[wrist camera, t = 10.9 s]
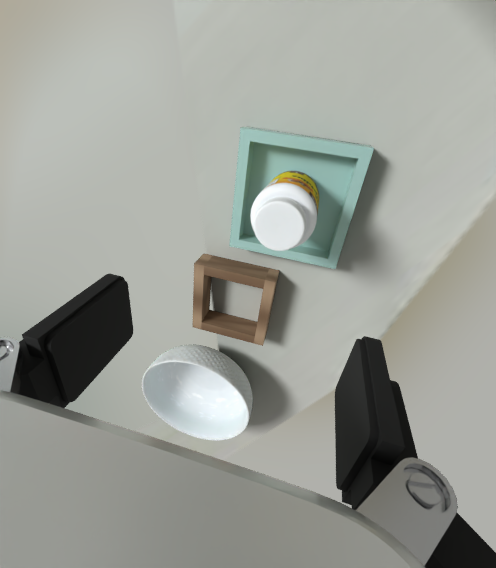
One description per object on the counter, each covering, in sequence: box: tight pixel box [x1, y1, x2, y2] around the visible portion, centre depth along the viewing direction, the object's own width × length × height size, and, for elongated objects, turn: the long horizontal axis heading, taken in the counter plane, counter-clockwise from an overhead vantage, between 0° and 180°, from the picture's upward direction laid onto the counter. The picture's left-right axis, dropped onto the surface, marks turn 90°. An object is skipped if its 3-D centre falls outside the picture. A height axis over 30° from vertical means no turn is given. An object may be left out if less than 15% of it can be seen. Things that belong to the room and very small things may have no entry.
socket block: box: [193, 254, 279, 346], centre depth 38 cm, size 10×10×3 cm
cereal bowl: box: [142, 345, 253, 440], centre depth 45 cm, size 17×17×7 cm
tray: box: [230, 127, 374, 269], centre depth 30 cm, size 12×12×2 cm
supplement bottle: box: [250, 170, 319, 251], centre depth 26 cm, size 6×6×10 cm
